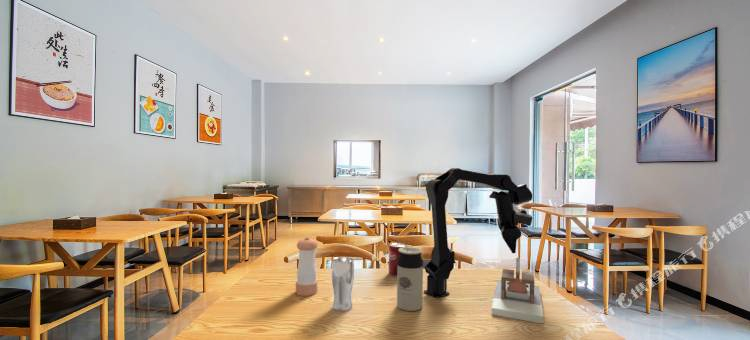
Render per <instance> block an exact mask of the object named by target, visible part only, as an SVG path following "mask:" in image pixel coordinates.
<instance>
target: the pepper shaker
mask: <svg viewBox="0 0 750 340" xmlns="http://www.w3.org/2000/svg"><path fill="white" fill-rule="evenodd" d="M296 248H297V250H298V266H297V272H296V276H297V277H296V283H295V294H296V295H298V296H303V297H304V296H305V297H307V296H309V297H310V296H313V295H315V294H317V293H318V281H317V266H316V249H317V248H318V242H317V240H316V239H313V238H310V237H309V236H306V237H304V238H302V239H301V240H299V241H298V242H297V243H296Z"/></svg>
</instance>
